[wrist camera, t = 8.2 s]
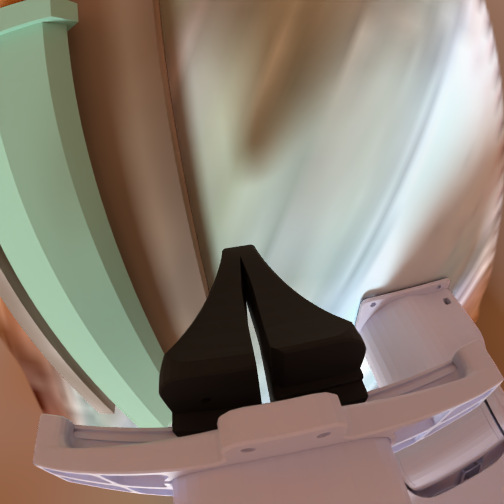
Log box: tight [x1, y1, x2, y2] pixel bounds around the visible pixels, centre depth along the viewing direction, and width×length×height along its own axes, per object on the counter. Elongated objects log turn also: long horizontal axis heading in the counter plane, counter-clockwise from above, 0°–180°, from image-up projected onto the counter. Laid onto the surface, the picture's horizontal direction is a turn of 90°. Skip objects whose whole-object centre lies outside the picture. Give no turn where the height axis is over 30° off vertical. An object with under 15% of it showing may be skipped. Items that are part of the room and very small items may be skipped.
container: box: [0, 0, 172, 428], centre depth 12 cm, size 6×6×25 cm
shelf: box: [0, 0, 209, 414], centre depth 14 cm, size 12×28×4 cm, turn 5°
